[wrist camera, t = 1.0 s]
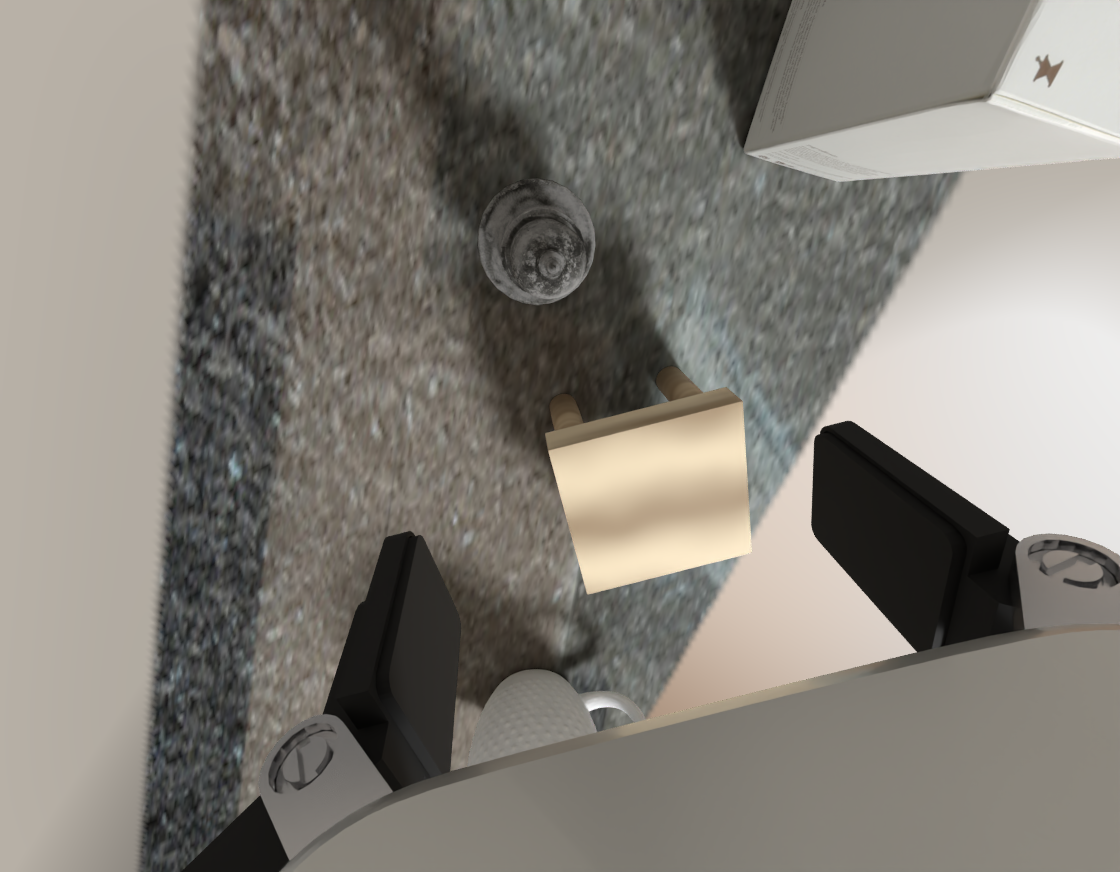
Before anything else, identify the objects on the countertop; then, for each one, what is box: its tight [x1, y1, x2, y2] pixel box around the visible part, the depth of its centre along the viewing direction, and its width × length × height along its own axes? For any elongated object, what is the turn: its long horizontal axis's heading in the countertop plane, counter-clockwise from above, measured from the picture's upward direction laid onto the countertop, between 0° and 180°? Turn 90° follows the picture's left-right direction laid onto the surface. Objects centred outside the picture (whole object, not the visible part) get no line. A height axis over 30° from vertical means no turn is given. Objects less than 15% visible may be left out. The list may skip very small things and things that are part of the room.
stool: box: [545, 366, 752, 595], centre depth 30 cm, size 10×10×8 cm
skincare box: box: [744, 0, 1120, 182], centre depth 19 cm, size 8×7×16 cm
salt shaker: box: [477, 178, 595, 305], centre depth 22 cm, size 6×6×12 cm
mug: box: [467, 669, 646, 767], centre depth 39 cm, size 15×11×13 cm
